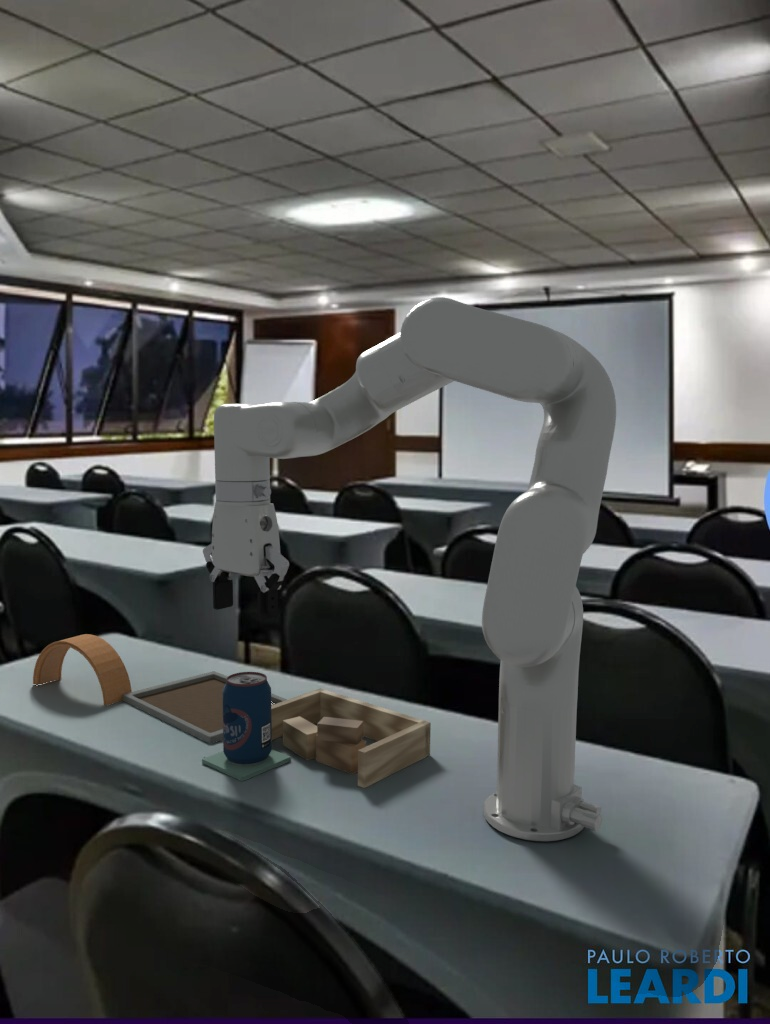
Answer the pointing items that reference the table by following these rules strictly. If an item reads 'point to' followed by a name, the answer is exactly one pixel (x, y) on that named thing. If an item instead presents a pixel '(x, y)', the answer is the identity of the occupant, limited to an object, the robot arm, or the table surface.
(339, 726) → the offcut top
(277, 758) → the mat
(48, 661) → the arch
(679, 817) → the table surface
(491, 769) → the table surface
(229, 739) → the soda can
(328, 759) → the offcut
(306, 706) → the enclosure
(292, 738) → the offcut
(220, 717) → the framed cork board
